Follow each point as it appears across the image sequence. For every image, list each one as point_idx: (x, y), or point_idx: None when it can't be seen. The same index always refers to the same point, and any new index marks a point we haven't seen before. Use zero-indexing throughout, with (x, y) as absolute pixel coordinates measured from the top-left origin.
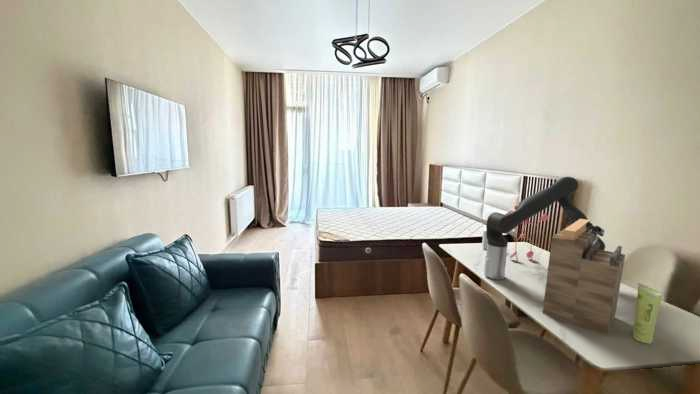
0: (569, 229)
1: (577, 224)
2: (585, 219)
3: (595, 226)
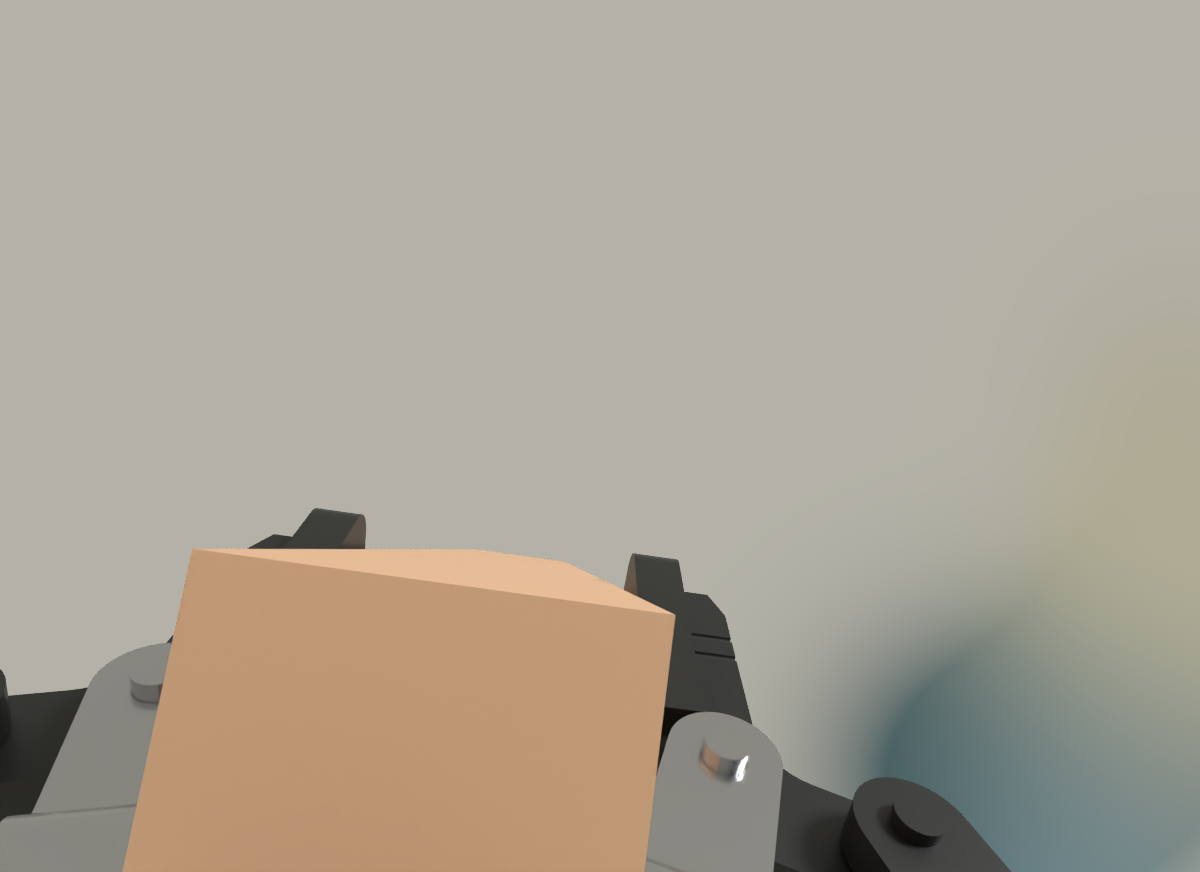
0: (529, 557)
1: (513, 560)
2: (423, 580)
3: (11, 707)
